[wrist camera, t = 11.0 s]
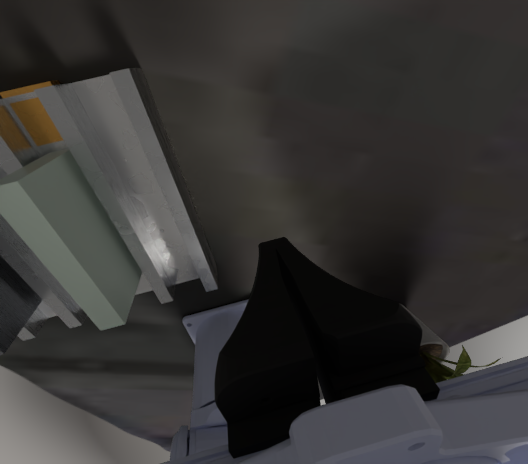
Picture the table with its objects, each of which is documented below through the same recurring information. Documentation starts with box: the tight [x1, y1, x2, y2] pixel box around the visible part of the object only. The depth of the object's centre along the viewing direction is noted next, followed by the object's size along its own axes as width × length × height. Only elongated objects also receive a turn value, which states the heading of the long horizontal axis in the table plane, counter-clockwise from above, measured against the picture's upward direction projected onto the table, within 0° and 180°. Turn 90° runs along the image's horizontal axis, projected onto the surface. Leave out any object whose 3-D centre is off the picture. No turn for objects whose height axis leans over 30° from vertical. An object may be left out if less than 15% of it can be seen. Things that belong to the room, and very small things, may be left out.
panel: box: [0, 148, 142, 330], centre depth 17 cm, size 10×2×6 cm, turn 11°
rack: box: [0, 68, 218, 355], centre depth 17 cm, size 16×16×7 cm
